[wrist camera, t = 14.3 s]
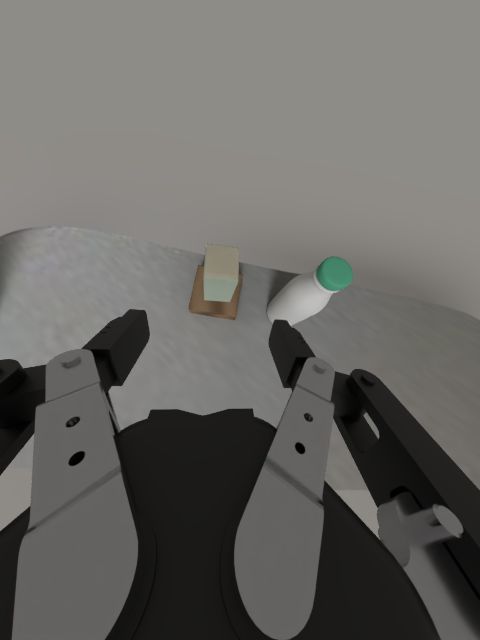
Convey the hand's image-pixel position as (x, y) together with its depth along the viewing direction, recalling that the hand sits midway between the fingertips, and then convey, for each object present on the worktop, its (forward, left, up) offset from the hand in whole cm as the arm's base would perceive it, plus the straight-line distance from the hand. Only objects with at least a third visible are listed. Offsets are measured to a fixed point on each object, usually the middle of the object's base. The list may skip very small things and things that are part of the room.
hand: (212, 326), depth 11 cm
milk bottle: (+14, +12, -27) cm, 33 cm away
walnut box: (-2, +13, -28) cm, 30 cm away
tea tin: (-2, +13, -23) cm, 27 cm away
